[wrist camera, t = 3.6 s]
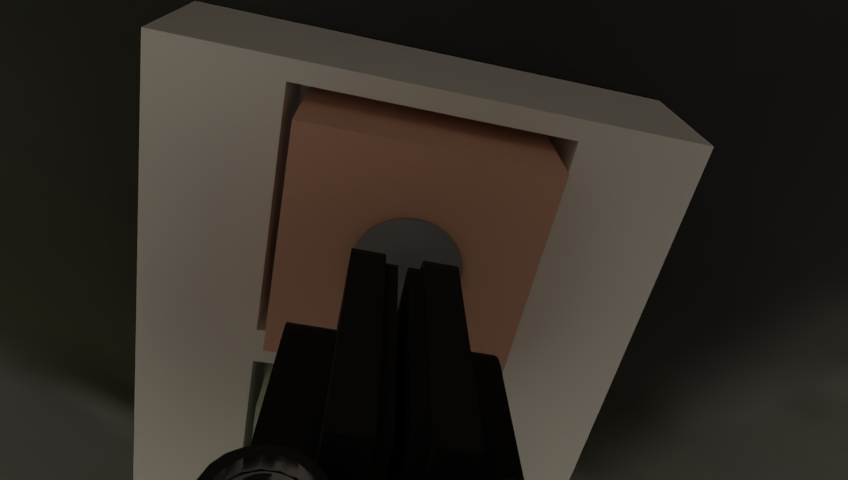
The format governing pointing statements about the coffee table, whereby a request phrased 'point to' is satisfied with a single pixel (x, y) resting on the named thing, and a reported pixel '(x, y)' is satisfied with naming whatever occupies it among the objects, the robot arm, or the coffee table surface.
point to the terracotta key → (411, 209)
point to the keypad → (261, 204)
